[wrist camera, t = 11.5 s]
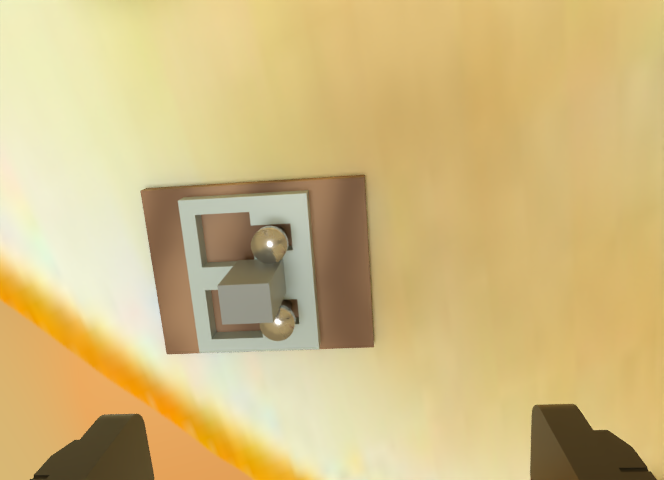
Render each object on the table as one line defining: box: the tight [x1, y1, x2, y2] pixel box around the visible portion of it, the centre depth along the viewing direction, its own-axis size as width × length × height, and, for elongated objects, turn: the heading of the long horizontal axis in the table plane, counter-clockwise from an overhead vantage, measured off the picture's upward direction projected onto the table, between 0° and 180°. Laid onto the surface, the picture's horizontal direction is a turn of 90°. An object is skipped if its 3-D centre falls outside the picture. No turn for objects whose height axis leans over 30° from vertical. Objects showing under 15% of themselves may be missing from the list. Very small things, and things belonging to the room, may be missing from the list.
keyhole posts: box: [251, 226, 296, 341], centre depth 35 cm, size 2×7×3 cm, turn 4°
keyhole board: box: [141, 175, 374, 354], centre depth 37 cm, size 15×12×1 cm
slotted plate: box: [178, 190, 321, 353], centre depth 34 cm, size 8×11×6 cm
